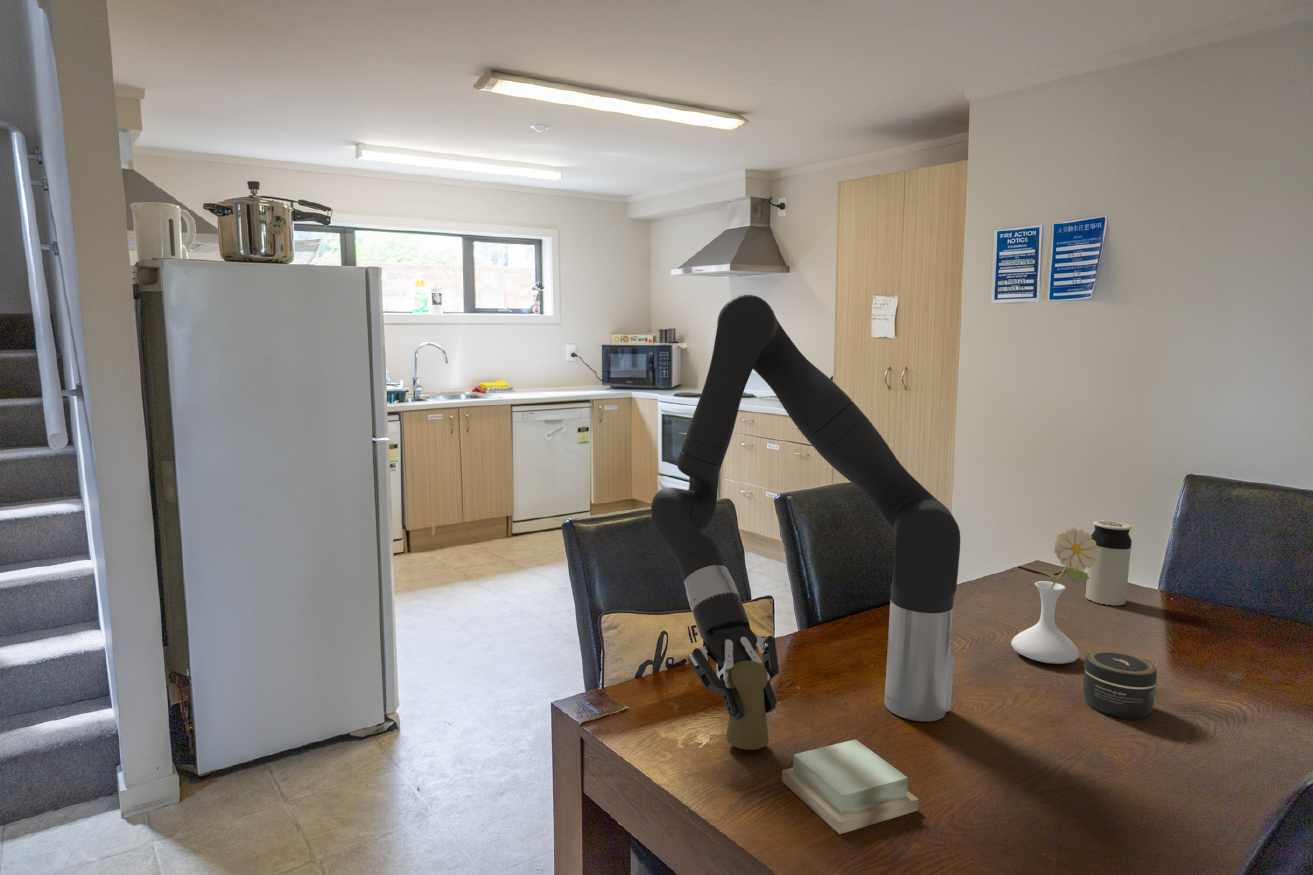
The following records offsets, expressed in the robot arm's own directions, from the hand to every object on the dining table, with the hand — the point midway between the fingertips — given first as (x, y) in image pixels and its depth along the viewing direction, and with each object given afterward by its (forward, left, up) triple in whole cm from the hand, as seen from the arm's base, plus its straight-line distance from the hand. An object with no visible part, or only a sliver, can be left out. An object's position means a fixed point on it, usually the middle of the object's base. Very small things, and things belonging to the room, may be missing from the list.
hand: (755, 713), depth 107 cm
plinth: (-6, +13, -6) cm, 16 cm away
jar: (-62, +10, -6) cm, 63 cm away
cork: (0, -2, -5) cm, 5 cm away
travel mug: (-110, -26, -6) cm, 113 cm away
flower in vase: (-69, -8, -6) cm, 70 cm away
